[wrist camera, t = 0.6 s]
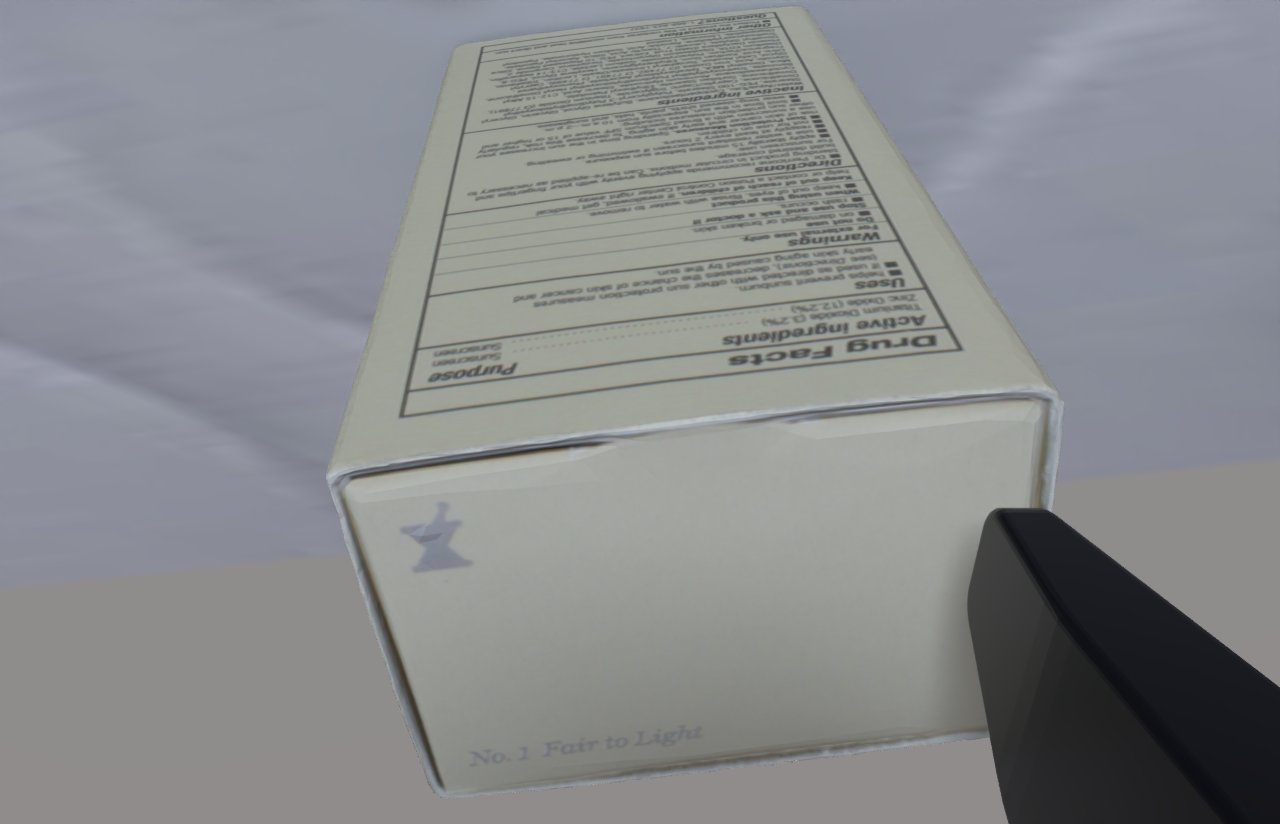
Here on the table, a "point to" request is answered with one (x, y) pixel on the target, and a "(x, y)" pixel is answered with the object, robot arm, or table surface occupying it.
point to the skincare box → (677, 417)
